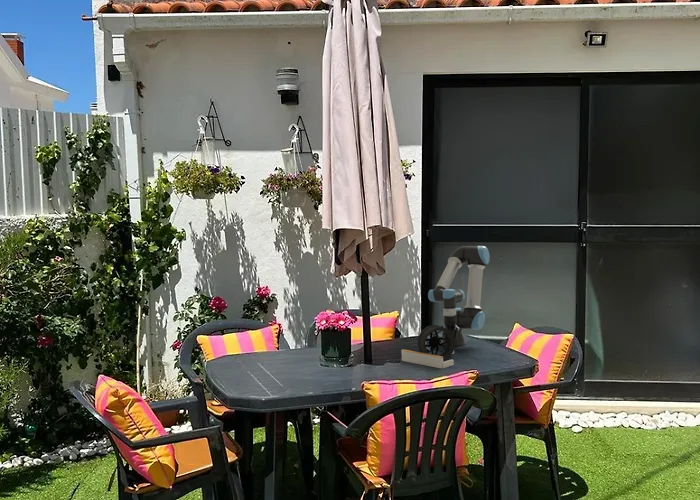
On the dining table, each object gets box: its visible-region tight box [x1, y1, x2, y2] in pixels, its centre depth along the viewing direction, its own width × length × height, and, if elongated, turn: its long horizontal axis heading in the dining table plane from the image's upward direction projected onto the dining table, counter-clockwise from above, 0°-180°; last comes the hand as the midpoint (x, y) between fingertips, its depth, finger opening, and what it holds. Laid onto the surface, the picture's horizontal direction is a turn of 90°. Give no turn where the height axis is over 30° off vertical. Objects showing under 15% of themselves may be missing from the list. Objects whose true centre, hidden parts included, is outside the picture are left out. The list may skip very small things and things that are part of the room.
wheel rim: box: [417, 324, 456, 362], centre depth 379 cm, size 20×9×20 cm, turn 104°
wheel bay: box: [400, 349, 455, 369], centre depth 374 cm, size 10×31×7 cm, turn 41°
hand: (451, 353), depth 389 cm, fingers closed
